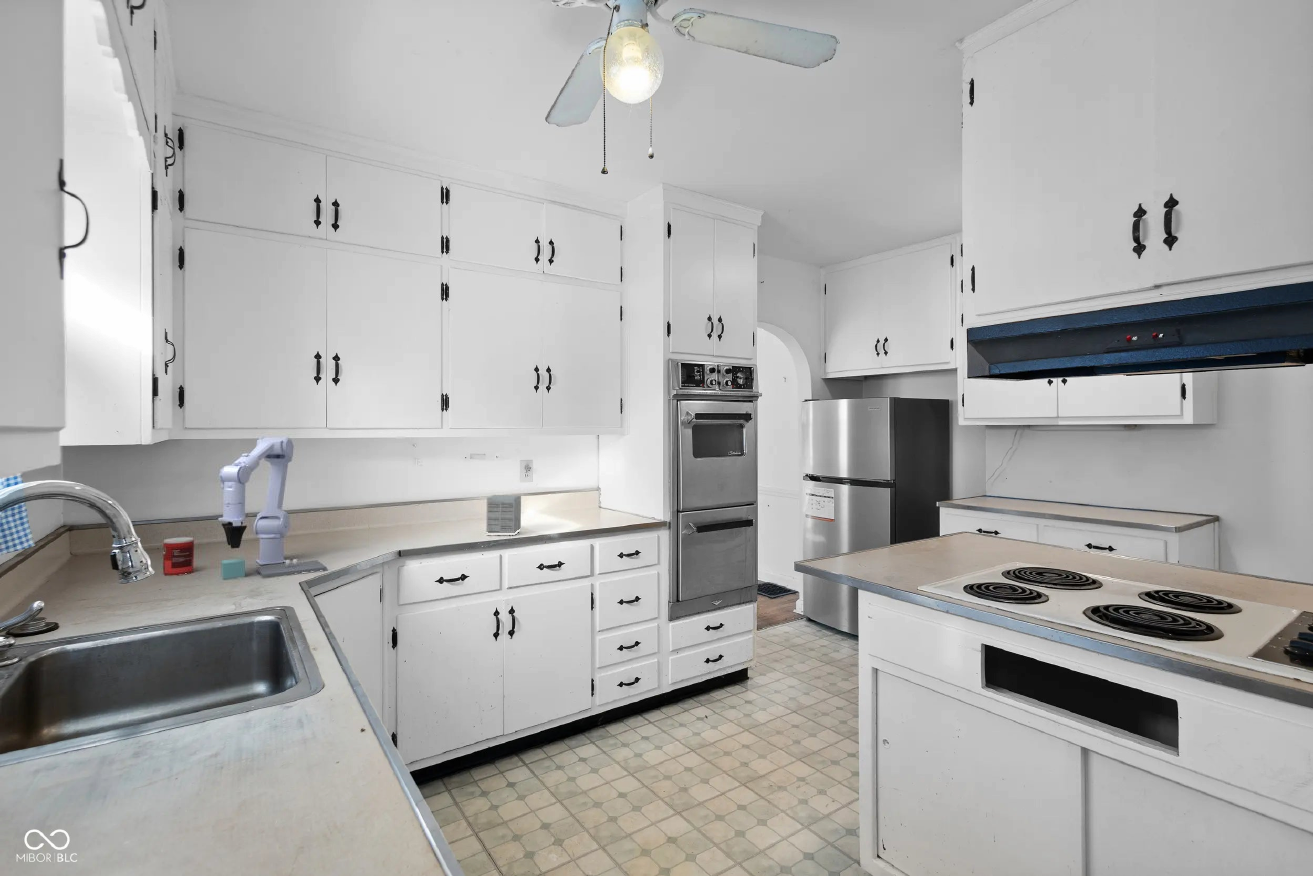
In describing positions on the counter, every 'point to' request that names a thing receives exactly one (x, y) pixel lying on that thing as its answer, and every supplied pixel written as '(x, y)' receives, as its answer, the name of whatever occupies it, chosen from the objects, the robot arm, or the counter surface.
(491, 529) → the supplement box
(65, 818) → the counter surface
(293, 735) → the counter surface
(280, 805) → the counter surface
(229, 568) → the housing cap
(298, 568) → the stub plate
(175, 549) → the canned food
